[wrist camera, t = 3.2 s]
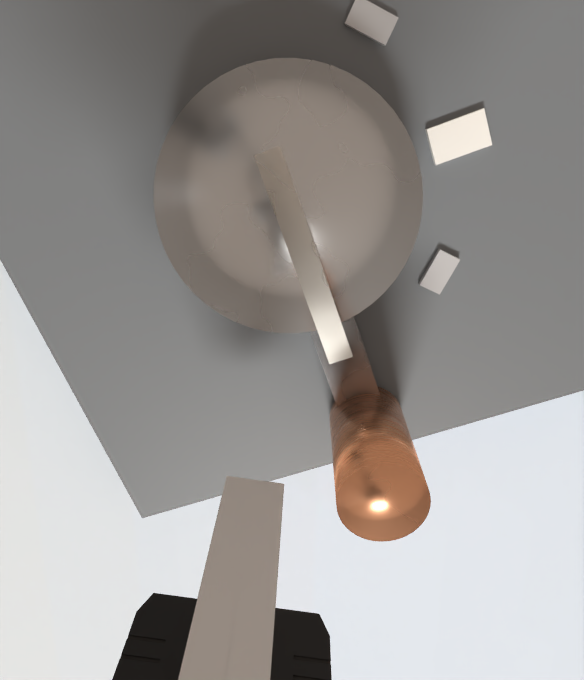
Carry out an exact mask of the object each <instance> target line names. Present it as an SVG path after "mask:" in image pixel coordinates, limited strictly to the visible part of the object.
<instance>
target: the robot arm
mask: <svg viewBox="0 0 584 680" xmlns="http://www.w3.org/2000/svg"><path fill="white" fill-rule="evenodd" d="M283 493H284V484H281V483H274V482H267V481H260V480H253V479H246V478H239V477H232V476H227V477H226V481H225V485H224V490H223V494H222V498H221V502H220V506H219V510H218V515H217V519H216V523H215V527H214V531H213V536H212V540H211V544H210V548H209V552H208V557H207V561H206V565H205V569H204V573H203V578H202V582H201V586H200V590H199V594H198V598H197V599H194V598H187V597H179V596H172V595H164V594H157V593H153V594H152V595H151V597H150V598H149V599H148V600H147V601H146V602H145V603H144V604H143V605H142V606H141V607H140V609H139V610H138V611H137V612H136V615H135V618H134V621H133V623H132V626H131V629H130V632H129V635H128V639H127V640H126V643H125V646H124V649H123V651H122V655H121V659H120V660H119V663H118V665H117V668H116V671H115V674H114V677H113V679H112V680H331V665H330V661H331V657H330V636H329V634H328V631H327V629H326V627H325V625H324V623H323V621H322V619H321V617H320V615H319V614H316V613H309V612H301V611H294V610H286V609H279V608H275V605H276V591H277V577H278V563H279V549H280V535H281V521H282V507H283Z"/></svg>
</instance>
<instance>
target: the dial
mask: <svg viewBox="0 0 584 680" xmlns="http://www.w3.org/2000/svg"><path fill="white" fill-rule="evenodd" d="M153 201H154V210H155V219H156V223H157V227H158V232H159V236H160V238H161V241H162V244H163V247H164V249H165V252H166V254H167V256H168V258H169V260H170V262H171V264H172V265H173V267H174V269H175V270H176V272H177V273H178V275H179V276H180V278H181V279H182V280H183V282H184V283H185V284H186V285H187V286H188V287H189V288H190V290H191V291H192V292H193V293H194V294H195V295H196V296H197V297H198V298H200V299H201V300H202V301H203V302H204V303H205V304H206V305H208V306H209V307H211V308H212V309H213V310H215V311H216V312H218V313H219V314H221V315H223V316H225V317H227V318H228V319H230V320H232V321H234V322H237V323H239V324H242V325H245V326H247V327H250V328H254V329H258V330H262V331H267V332H276V333H302V332H310V334H311V337H312V340H313V342H314V345H315V348H316V351H317V353H318V356H319V359H320V361H321V364H322V367H323V370H324V372H325V375H326V378H327V381H328V383H329V386H330V389H331V391H332V394H333V397H334V400H335V402H334V404H333V406H332V408H331V411H330V431H331V443H332V455H333V468H334V480H335V492H336V505H337V512H338V515H339V517H340V519H341V521H342V523H343V524H344V525H345V526H346V528H347V529H349V530H350V531H351V532H352V533H354V534H355V535H357V536H359V537H361V538H364V539H367V540H372V541H391V540H396V539H399V538H402V537H405V536H407V535H409V534H410V533H412V532H413V531H415V530H416V529H417V528H418V527H419V526H420V525H421V524H422V523H423V522H424V520H425V519H426V517H427V515H428V512H429V509H430V503H431V499H430V493H429V489H428V486H427V483H426V480H425V477H424V474H423V472H422V469H421V466H420V463H419V460H418V457H417V454H416V451H415V448H414V445H413V442H412V439H411V436H410V433H409V430H408V427H407V424H406V421H405V418H404V415H403V412H402V409H401V406H400V404H399V402H398V400H397V399H396V398H395V397H394V396H393V395H392V394H391V393H390V392H389V391H387V390H385V389H383V388H381V387H378V386H377V383H376V380H375V377H374V374H373V371H372V368H371V365H370V362H369V359H368V356H367V353H366V350H365V347H364V344H363V341H362V338H361V335H360V332H359V329H358V326H357V323H356V320H355V317H354V316H355V315H357V314H358V313H360V312H361V311H363V310H364V309H366V308H367V307H368V306H370V305H371V304H373V303H374V302H375V301H376V300H377V299H378V298H379V297H380V296H381V295H382V294H383V293H384V292H385V291H386V290H387V289H388V288H389V287H390V286H391V284H392V283H393V282H394V281H395V280H396V278H397V277H398V275H399V274H400V272H401V270H402V269H403V267H404V266H405V264H406V262H407V260H408V258H409V256H410V254H411V252H412V250H413V247H414V244H415V241H416V238H417V235H418V232H419V227H420V222H421V217H422V205H423V187H422V176H421V171H420V166H419V161H418V157H417V154H416V152H415V149H414V146H413V143H412V141H411V138H410V136H409V134H408V132H407V130H406V128H405V126H404V125H403V123H402V122H401V120H400V119H399V117H398V116H397V114H396V113H395V111H394V110H393V109H392V108H391V106H390V105H389V104H388V103H387V102H386V101H385V100H384V99H383V98H382V96H381V95H379V94H378V93H377V92H376V91H375V90H373V89H372V88H371V87H370V86H369V85H368V84H366V83H365V82H363V81H362V80H360V79H358V78H357V77H355V76H354V75H352V74H350V73H348V72H346V71H344V70H342V69H339V68H337V67H335V66H333V65H329V64H326V63H322V62H318V61H315V60H309V59H301V58H273V59H267V60H261V61H256V62H252V63H249V64H246V65H243V66H240V67H237V68H235V69H233V70H231V71H229V72H227V73H225V74H223V75H221V76H220V77H218V78H217V79H215V80H214V81H212V82H211V83H209V84H208V85H206V86H205V87H204V88H203V89H202V90H201V91H200V92H198V93H197V94H196V95H195V96H194V97H193V98H192V99H191V100H190V101H189V102H188V104H187V105H186V106H185V107H184V108H183V110H182V111H181V112H180V113H179V115H178V116H177V118H176V120H175V121H174V123H173V125H172V126H171V128H170V129H169V132H168V134H167V136H166V138H165V141H164V143H163V145H162V148H161V151H160V155H159V158H158V161H157V165H156V172H155V178H154V199H153Z"/></svg>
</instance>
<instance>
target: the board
mask: <svg viewBox="0 0 584 680" xmlns="http://www.w3.org/2000/svg"><path fill="white" fill-rule="evenodd" d="M273 58H301V59H309V60H315V61H318V62H322V63H326V64H329V65H333V66H335V67H337V68H339V69H342V70H344V71H346V72H348V73H350V74H352V75H354V76H355V77H357V78H358V79H360V80H362V81H363V82H365V83H366V84H368V85H369V86H370V87H371V88H372V89H373V90H375V91H376V92H377V93H378V94H379V95H381V96H382V98H383V99H384V100H385V101H386V102H387V103H388V104H389V105H390V106H391V108H392V109H393V110H394V111H395V113H396V114H397V116H398V117H399V119H400V120H401V122H402V123H403V125H404V126H405V128H406V130H407V132H408V134H409V136H410V138H411V141H412V143H413V146H414V149H415V152H416V154H417V157H418V161H419V166H420V171H421V176H422V187H423V205H422V217H421V222H420V227H419V232H418V235H417V238H416V241H415V244H414V247H413V250H412V252H411V254H410V256H409V258H408V260H407V262H406V264H405V266H404V267H403V269H402V270H401V272H400V274H399V275H398V277H397V278H396V280H395V281H394V282H393V283H392V284H391V286H390V287H389V288H388V289H387V290H386V291H385V292H384V293H383V294H382V295H381V296H380V297H379V298H378V299H377V300H376V301H375V302H374V303H373V304H371V305H370V306H368V307H367V308H366V309H364V310H363V311H361V312H360V313H358V314H357V315H355V316H354V317H355V320H356V323H357V326H358V329H359V332H360V335H361V338H362V341H363V344H364V347H365V350H366V353H367V356H368V359H369V362H370V365H371V368H372V371H373V374H374V377H375V380H376V383H377V386H378V387H381V388H383V389H385V390H387V391H389V392H390V393H391V394H392V395H393V396H394V397H395V398H396V399H397V400H398V402H399V404H400V406H401V409H402V412H403V415H404V418H405V421H406V424H407V427H408V430H409V433H410V436H411V439H412V440H414V439H417V438H421V437H424V436H428V435H431V434H434V433H438V432H441V431H445V430H448V429H452V428H455V427H459V426H462V425H465V424H469V423H472V422H476V421H479V420H483V419H486V418H490V417H493V416H497V415H500V414H503V413H507V412H510V411H514V410H517V409H521V408H524V407H528V406H531V405H534V404H538V403H541V402H545V401H548V400H552V399H555V398H559V397H562V396H566V395H569V394H572V393H576V392H579V391H583V390H584V0H0V260H1V262H2V263H3V265H4V267H5V269H6V271H7V272H8V274H9V276H10V278H11V280H12V282H13V283H14V285H15V287H16V289H17V291H18V293H19V294H20V296H21V298H22V300H23V302H24V303H25V305H26V307H27V309H28V311H29V313H30V314H31V316H32V318H33V320H34V322H35V324H36V325H37V327H38V329H39V331H40V333H41V334H42V336H43V338H44V340H45V342H46V344H47V345H48V347H49V349H50V351H51V353H52V355H53V356H54V358H55V360H56V362H57V364H58V365H59V367H60V369H61V371H62V373H63V375H64V376H65V378H66V380H67V382H68V384H69V386H70V387H71V389H72V391H73V393H74V395H75V396H76V398H77V400H78V402H79V404H80V406H81V407H82V409H83V411H84V413H85V415H86V417H87V418H88V420H89V422H90V424H91V426H92V427H93V429H94V431H95V433H96V435H97V437H98V438H99V440H100V442H101V444H102V446H103V448H104V449H105V451H106V453H107V455H108V457H109V458H110V460H111V462H112V464H113V466H114V468H115V469H116V471H117V473H118V475H119V477H120V479H121V480H122V482H123V484H124V486H125V488H126V489H127V491H128V493H129V495H130V497H131V499H132V500H133V502H134V504H135V506H136V508H137V510H138V511H139V513H140V515H141V517H142V518H145V517H148V516H151V515H155V514H158V513H162V512H165V511H169V510H172V509H176V508H179V507H182V506H186V505H189V504H193V503H196V502H200V501H203V500H207V499H210V498H214V497H217V496H220V495H222V494H223V490H224V485H225V481H226V477H227V476H232V477H239V478H246V479H253V480H260V481H267V482H269V481H272V480H276V479H279V478H283V477H286V476H289V475H293V474H296V473H300V472H303V471H307V470H310V469H314V468H317V467H321V466H324V465H327V464H331V463H333V455H332V443H331V431H330V411H331V408H332V406H333V404H334V402H335V400H334V397H333V394H332V391H331V389H330V386H329V383H328V381H327V378H326V375H325V372H324V370H323V367H322V364H321V361H320V359H319V356H318V353H317V351H316V348H315V345H314V342H313V340H312V337H311V334H310V332H302V333H276V332H267V331H262V330H258V329H254V328H250V327H247V326H245V325H242V324H239V323H237V322H234V321H232V320H230V319H228V318H227V317H225V316H223V315H221V314H219V313H218V312H216V311H215V310H213V309H212V308H211V307H209V306H208V305H206V304H205V303H204V302H203V301H202V300H201V299H200V298H198V297H197V296H196V295H195V294H194V293H193V292H192V291H191V290H190V288H189V287H188V286H187V285H186V284H185V283H184V282H183V280H182V279H181V278H180V276H179V275H178V273H177V272H176V270H175V269H174V267H173V265H172V264H171V262H170V260H169V258H168V256H167V254H166V252H165V249H164V247H163V244H162V241H161V238H160V236H159V232H158V227H157V223H156V219H155V210H154V201H153V199H154V178H155V172H156V165H157V161H158V158H159V155H160V151H161V148H162V145H163V143H164V141H165V138H166V136H167V134H168V132H169V129H170V128H171V126H172V125H173V123H174V121H175V120H176V118H177V116H178V115H179V113H180V112H181V111H182V110H183V108H184V107H185V106H186V105H187V104H188V102H189V101H190V100H191V99H192V98H193V97H194V96H195V95H196V94H197V93H198V92H200V91H201V90H202V89H203V88H204V87H205V86H206V85H208V84H209V83H211V82H212V81H214V80H215V79H217V78H218V77H220V76H221V75H223V74H225V73H227V72H229V71H231V70H233V69H235V68H237V67H240V66H243V65H246V64H249V63H252V62H256V61H261V60H267V59H273Z"/></svg>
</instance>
